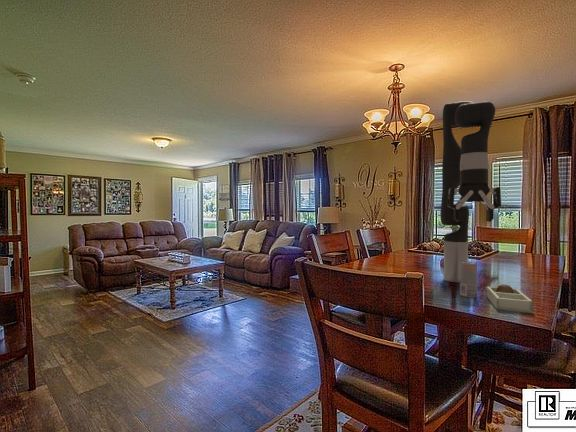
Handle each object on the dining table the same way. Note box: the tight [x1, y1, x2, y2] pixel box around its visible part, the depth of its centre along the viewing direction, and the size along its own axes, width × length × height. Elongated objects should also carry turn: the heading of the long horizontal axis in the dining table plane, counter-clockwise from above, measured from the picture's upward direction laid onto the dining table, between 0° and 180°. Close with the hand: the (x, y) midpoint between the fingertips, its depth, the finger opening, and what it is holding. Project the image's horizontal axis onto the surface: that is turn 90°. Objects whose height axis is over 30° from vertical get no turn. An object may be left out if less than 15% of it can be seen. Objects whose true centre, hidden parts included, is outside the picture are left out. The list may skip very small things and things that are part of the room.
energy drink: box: [459, 261, 478, 299], centre depth 111 cm, size 5×5×12 cm
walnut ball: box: [496, 284, 514, 294], centre depth 105 cm, size 5×5×5 cm
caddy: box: [486, 286, 534, 314], centre depth 101 cm, size 16×9×4 cm, turn 157°
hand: (473, 221), depth 96 cm, fingers open, 8 cm apart
